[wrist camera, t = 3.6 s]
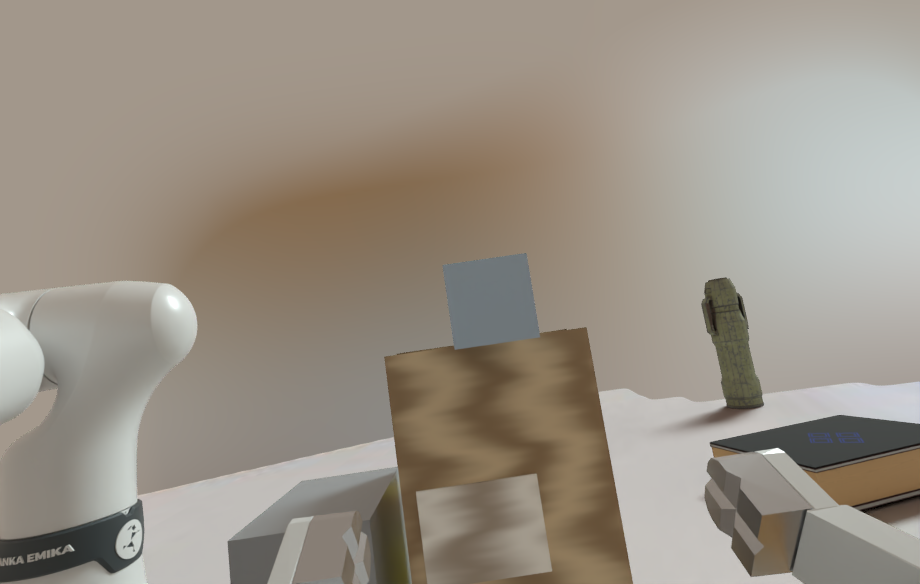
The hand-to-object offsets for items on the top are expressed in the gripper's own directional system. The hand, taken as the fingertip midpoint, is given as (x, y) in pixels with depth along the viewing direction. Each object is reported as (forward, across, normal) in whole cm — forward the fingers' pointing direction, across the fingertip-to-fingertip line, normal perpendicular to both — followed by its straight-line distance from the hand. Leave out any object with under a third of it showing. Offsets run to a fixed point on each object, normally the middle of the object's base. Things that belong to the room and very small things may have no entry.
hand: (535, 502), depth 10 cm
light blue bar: (+22, 0, -8) cm, 23 cm away
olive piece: (+88, +71, -77) cm, 137 cm away
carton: (+11, 0, -32) cm, 34 cm away
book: (+36, +48, -48) cm, 77 cm away
